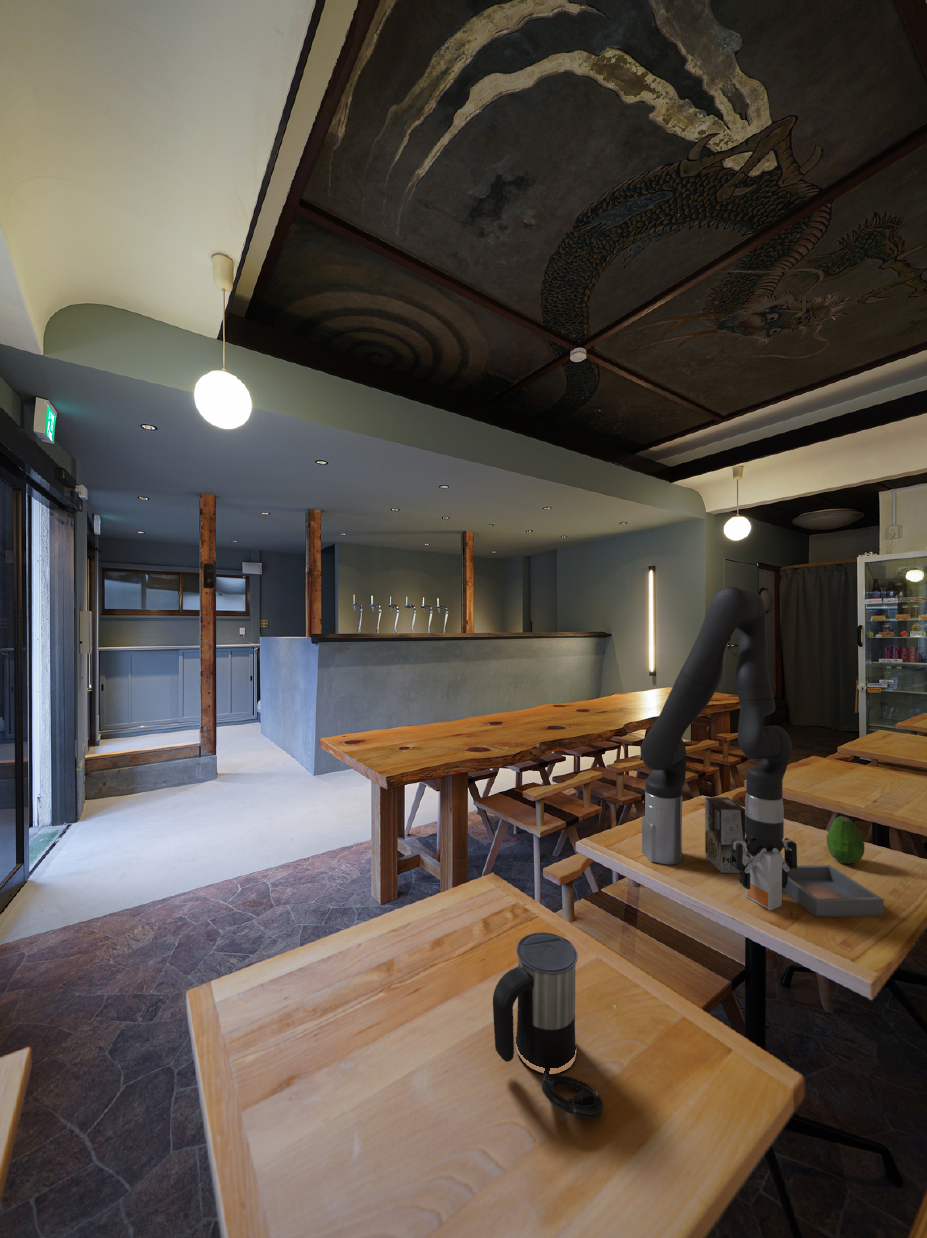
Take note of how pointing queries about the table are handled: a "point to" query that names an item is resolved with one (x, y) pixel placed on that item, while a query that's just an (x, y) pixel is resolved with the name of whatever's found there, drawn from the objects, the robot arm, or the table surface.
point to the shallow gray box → (831, 893)
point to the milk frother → (543, 1016)
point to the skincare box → (766, 881)
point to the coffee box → (722, 831)
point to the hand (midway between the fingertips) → (763, 886)
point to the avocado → (845, 841)
